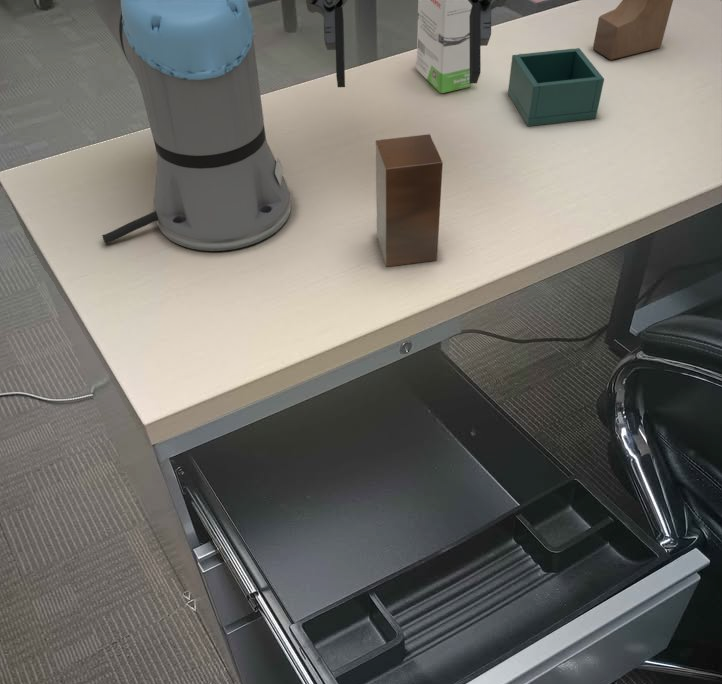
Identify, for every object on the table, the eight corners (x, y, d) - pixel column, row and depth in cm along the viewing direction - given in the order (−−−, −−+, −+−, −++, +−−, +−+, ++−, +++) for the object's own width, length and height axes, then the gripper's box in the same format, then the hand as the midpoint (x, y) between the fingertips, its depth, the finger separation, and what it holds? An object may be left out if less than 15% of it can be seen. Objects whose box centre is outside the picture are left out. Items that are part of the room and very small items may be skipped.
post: (386, 267, 80) (385, 169, 72) (376, 237, 84) (375, 139, 75) (437, 260, 81) (443, 162, 72) (425, 231, 84) (430, 133, 75)
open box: (527, 126, 98) (533, 86, 94) (507, 93, 103) (512, 54, 99) (595, 118, 98) (604, 78, 94) (572, 86, 104) (579, 47, 100)
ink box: (472, 88, 105) (480, -9, 95) (439, 95, 104) (444, -2, 94) (446, 62, 110) (451, -32, 100) (414, 69, 109) (416, -26, 99)
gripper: (525, -127, 78) (524, 91, 81) (282, -119, 79) (289, 97, 81) (540, -181, 71) (539, 60, 73) (273, -172, 71) (280, 68, 74)
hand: (407, 80), depth 77 cm, fingers open, 13 cm apart
